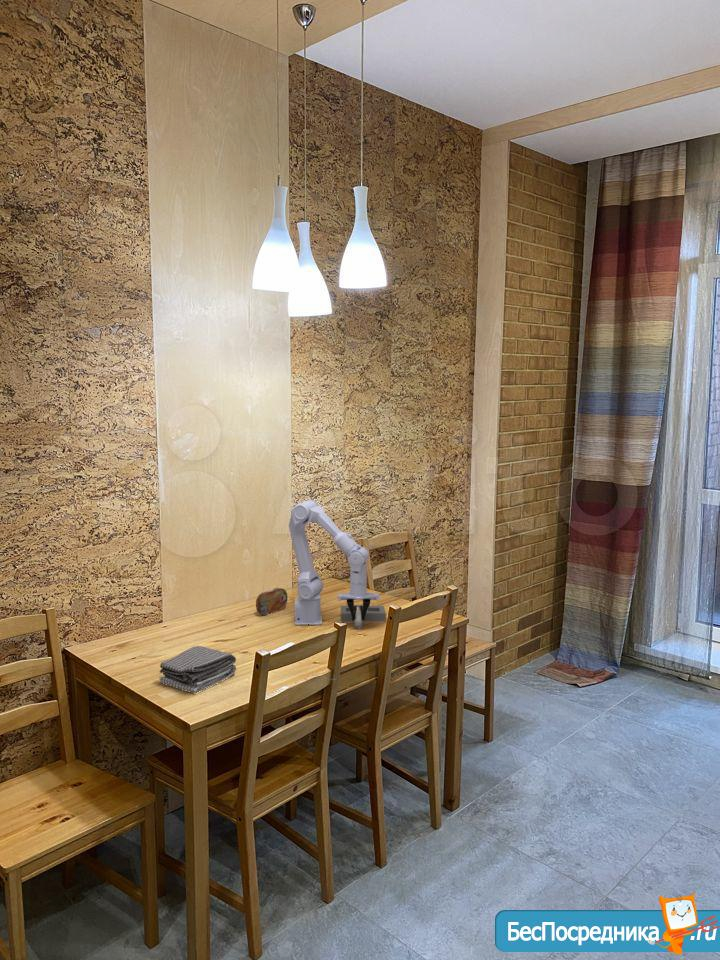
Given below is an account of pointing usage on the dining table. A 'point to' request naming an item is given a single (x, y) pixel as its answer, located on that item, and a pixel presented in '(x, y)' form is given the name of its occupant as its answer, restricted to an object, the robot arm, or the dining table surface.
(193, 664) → the towel
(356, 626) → the pin
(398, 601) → the dining table surface
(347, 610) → the hole block
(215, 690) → the dining table surface
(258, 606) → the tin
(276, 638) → the dining table surface
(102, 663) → the dining table surface
